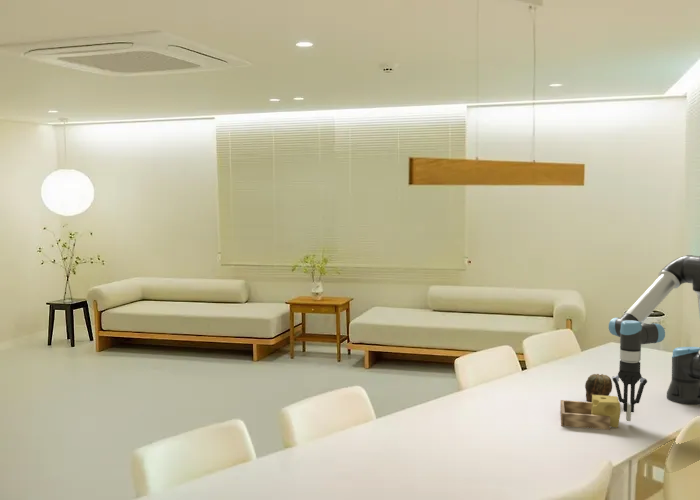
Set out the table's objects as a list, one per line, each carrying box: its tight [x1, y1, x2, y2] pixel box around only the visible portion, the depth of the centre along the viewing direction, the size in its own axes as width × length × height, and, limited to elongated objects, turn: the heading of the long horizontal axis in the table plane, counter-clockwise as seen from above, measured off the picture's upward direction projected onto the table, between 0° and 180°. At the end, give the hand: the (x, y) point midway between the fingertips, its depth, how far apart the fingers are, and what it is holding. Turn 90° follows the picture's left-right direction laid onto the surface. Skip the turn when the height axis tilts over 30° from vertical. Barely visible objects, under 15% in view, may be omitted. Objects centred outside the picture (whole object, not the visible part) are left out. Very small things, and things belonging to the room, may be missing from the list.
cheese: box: [591, 395, 621, 429], centre depth 275 cm, size 10×11×10 cm
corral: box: [559, 399, 611, 431], centre depth 279 cm, size 18×18×5 cm
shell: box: [584, 373, 613, 402], centre depth 304 cm, size 11×11×12 cm
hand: (628, 420), depth 274 cm, fingers closed
